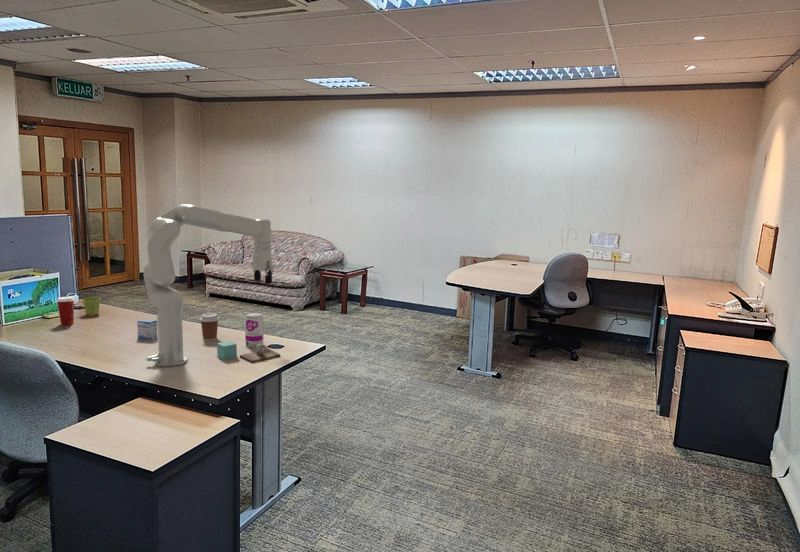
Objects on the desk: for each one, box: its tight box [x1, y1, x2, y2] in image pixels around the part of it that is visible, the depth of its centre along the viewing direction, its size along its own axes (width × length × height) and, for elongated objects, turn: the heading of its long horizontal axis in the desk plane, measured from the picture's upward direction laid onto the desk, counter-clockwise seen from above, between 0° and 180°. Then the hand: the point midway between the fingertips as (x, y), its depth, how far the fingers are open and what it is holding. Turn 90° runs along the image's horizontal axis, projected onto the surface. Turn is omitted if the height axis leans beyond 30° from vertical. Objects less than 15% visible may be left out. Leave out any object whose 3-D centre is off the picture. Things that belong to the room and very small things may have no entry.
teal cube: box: [216, 340, 238, 361], centre depth 234 cm, size 6×6×6 cm
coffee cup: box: [198, 312, 220, 342], centre depth 260 cm, size 9×9×12 cm
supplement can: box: [244, 312, 264, 348], centre depth 252 cm, size 8×8×15 cm
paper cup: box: [56, 296, 75, 326], centre depth 279 cm, size 8×8×14 cm
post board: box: [239, 344, 281, 364], centre depth 236 cm, size 14×10×6 cm
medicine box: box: [136, 318, 158, 340], centre depth 259 cm, size 8×4×9 cm, turn 76°
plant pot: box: [81, 297, 102, 316], centre depth 301 cm, size 9×9×9 cm
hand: (263, 282), depth 251 cm, fingers open, 9 cm apart
